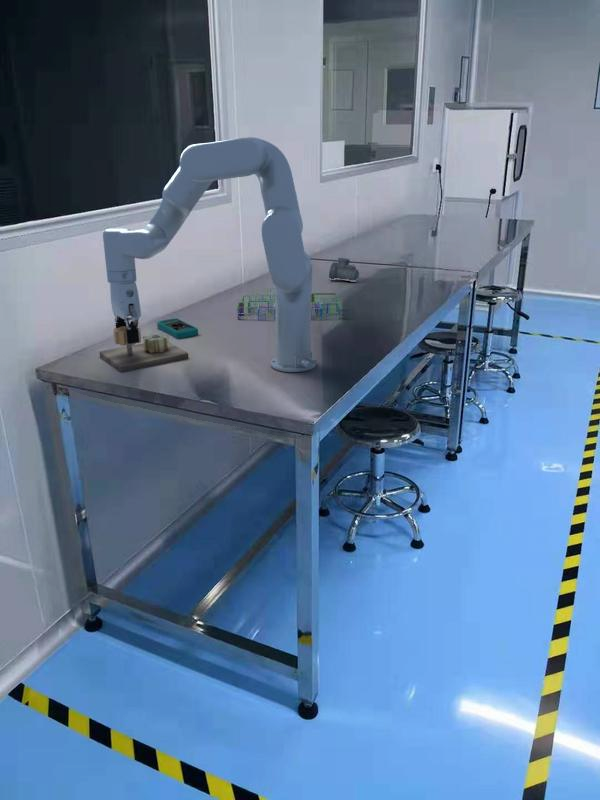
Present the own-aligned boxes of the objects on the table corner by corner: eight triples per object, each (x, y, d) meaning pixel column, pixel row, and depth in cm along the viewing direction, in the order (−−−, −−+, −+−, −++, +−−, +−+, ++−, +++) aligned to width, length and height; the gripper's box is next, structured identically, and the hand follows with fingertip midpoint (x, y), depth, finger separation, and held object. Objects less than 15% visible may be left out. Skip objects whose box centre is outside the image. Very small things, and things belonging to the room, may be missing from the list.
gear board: (188, 358, 183) (187, 337, 181) (120, 372, 172) (118, 350, 170) (164, 344, 195) (163, 325, 193) (100, 356, 184) (97, 336, 182)
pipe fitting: (326, 281, 277) (330, 257, 274) (333, 279, 284) (337, 255, 281) (352, 287, 273) (356, 262, 269) (358, 284, 280) (362, 261, 276)
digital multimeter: (177, 340, 200) (177, 331, 199) (156, 329, 212) (156, 320, 211) (199, 336, 204) (199, 327, 203) (177, 325, 216) (177, 316, 215)
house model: (237, 321, 220) (237, 308, 219) (242, 301, 248) (242, 288, 246) (339, 321, 221) (340, 307, 219) (333, 300, 249) (333, 288, 247)
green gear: (173, 349, 184) (172, 337, 183) (149, 354, 181) (148, 342, 179) (163, 343, 190) (162, 331, 188) (139, 347, 186) (138, 335, 185)
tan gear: (145, 342, 179) (144, 330, 177) (120, 347, 175) (118, 334, 174) (135, 336, 184) (134, 324, 183) (110, 340, 180) (109, 328, 179)
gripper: (147, 279, 168) (153, 344, 175) (123, 268, 181) (129, 329, 188) (120, 283, 164) (126, 349, 171) (96, 271, 177) (103, 334, 184)
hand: (127, 338), depth 179 cm, fingers closed on tan gear, 7 cm apart
